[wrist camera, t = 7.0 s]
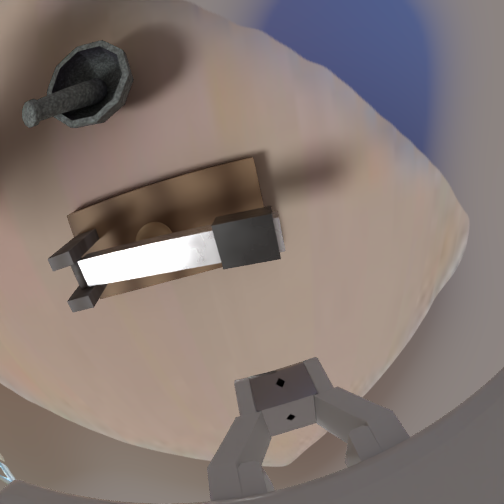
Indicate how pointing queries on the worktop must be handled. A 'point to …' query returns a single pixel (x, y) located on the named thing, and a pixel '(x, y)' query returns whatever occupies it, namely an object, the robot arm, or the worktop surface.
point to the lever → (191, 248)
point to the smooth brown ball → (152, 231)
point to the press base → (155, 210)
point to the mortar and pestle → (84, 87)
